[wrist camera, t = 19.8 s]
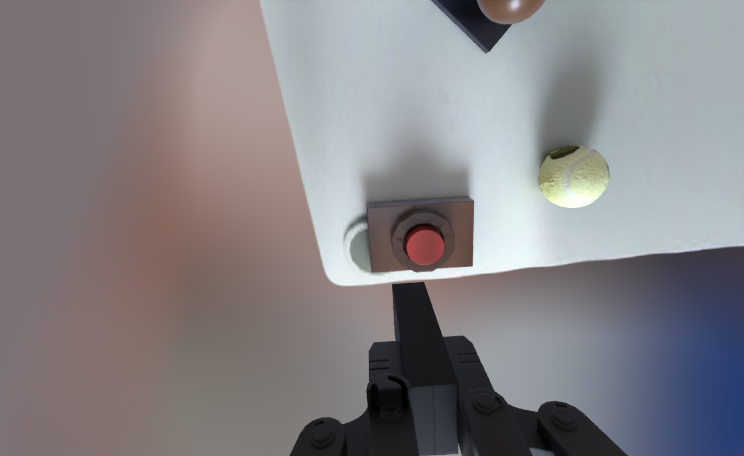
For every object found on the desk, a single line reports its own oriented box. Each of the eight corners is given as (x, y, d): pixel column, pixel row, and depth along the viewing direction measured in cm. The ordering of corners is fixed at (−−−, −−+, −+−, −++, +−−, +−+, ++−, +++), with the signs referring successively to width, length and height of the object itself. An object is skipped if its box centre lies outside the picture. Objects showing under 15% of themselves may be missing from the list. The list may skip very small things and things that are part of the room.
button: (405, 260, 40) (407, 266, 38) (404, 226, 39) (405, 231, 37) (441, 257, 40) (444, 263, 38) (440, 223, 39) (444, 228, 37)
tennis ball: (588, 190, 42) (628, 203, 35) (532, 208, 42) (561, 224, 36) (580, 136, 40) (621, 140, 33) (522, 155, 40) (551, 163, 34)
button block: (371, 265, 44) (371, 280, 40) (366, 203, 42) (366, 212, 38) (467, 259, 44) (477, 273, 40) (468, 196, 42) (479, 204, 38)
